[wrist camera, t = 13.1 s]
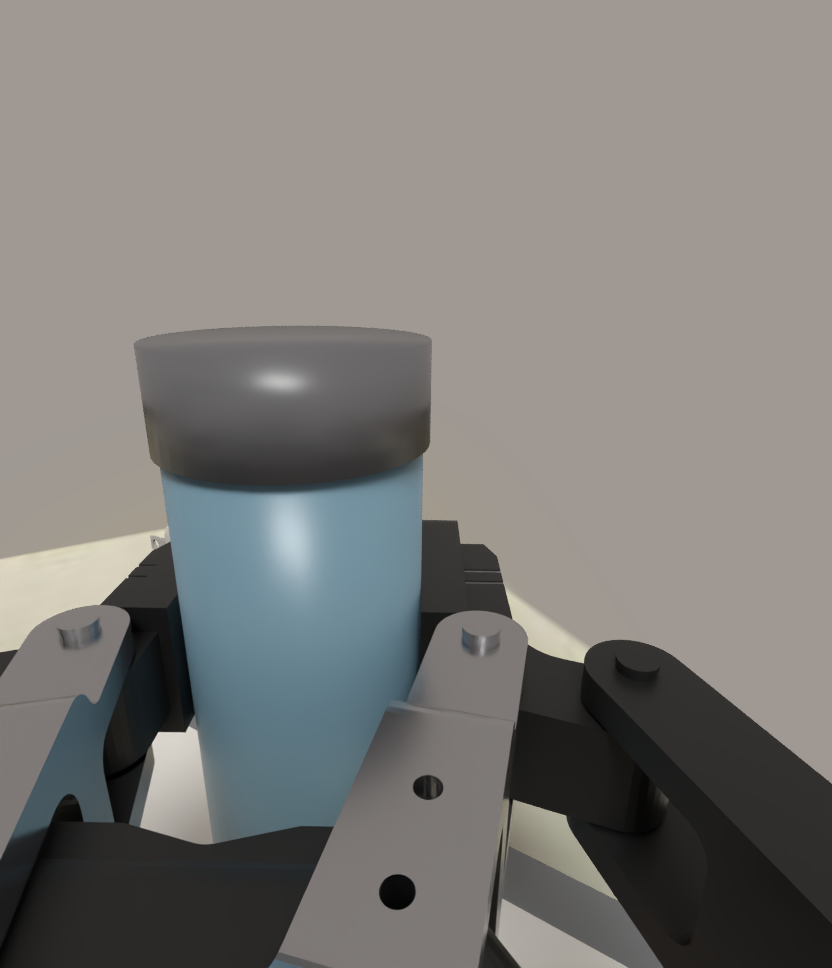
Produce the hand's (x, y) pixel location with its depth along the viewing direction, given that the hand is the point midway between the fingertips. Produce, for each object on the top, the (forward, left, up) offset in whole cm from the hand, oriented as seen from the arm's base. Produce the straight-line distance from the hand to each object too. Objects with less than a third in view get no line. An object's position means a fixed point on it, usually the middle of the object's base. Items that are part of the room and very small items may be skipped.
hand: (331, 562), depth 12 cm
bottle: (+1, -2, -7) cm, 8 cm away
